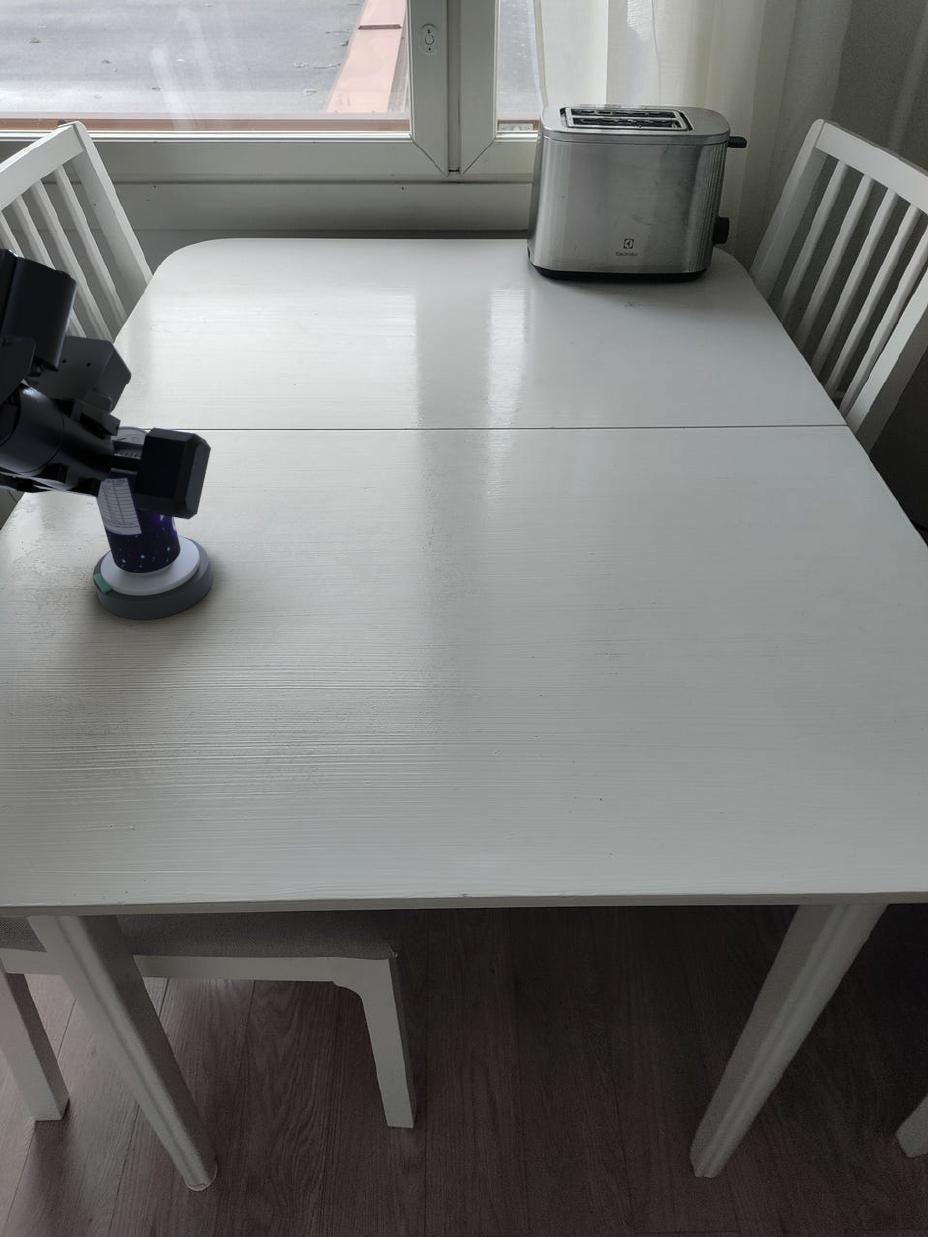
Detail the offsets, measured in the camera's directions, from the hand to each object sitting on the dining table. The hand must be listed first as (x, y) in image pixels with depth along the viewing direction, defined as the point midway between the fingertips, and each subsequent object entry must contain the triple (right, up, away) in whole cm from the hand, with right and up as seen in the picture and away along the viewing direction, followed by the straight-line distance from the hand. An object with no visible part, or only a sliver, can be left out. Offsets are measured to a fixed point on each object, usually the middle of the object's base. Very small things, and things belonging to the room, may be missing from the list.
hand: (142, 486), depth 81 cm
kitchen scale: (0, -8, +5) cm, 10 cm away
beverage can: (0, -6, +3) cm, 7 cm away
